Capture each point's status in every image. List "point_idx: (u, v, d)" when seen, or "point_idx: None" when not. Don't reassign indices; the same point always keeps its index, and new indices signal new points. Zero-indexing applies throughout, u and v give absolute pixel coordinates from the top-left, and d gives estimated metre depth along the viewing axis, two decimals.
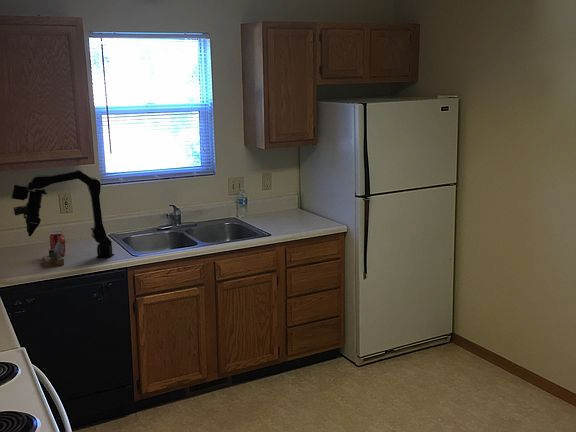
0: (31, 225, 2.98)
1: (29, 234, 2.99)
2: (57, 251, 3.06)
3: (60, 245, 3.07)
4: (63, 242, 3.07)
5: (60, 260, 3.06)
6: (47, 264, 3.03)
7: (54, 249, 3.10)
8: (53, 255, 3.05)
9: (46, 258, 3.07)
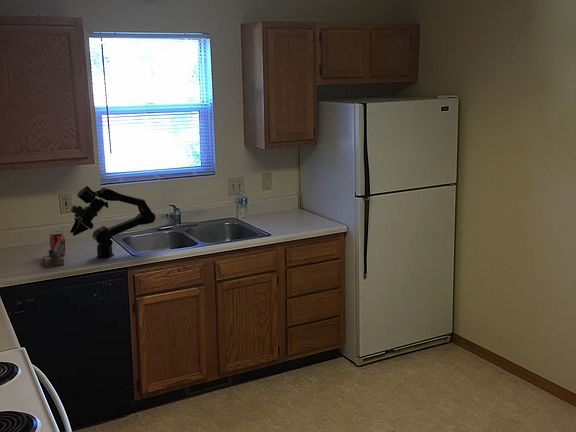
0: (81, 226, 3.08)
1: (74, 233, 3.08)
2: (57, 251, 3.06)
3: (60, 245, 3.07)
4: (63, 242, 3.07)
5: (60, 260, 3.06)
6: (47, 264, 3.03)
7: (54, 249, 3.10)
8: (53, 255, 3.05)
9: (46, 258, 3.07)
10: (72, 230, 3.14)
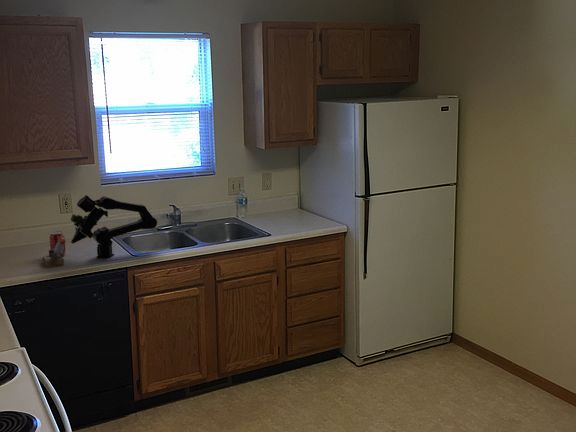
0: (79, 234, 3.12)
1: (73, 241, 3.11)
2: (57, 251, 3.06)
3: (60, 245, 3.07)
4: (63, 242, 3.07)
5: (60, 260, 3.06)
6: (47, 264, 3.03)
7: (54, 249, 3.10)
8: (53, 255, 3.05)
9: (46, 258, 3.07)
10: None
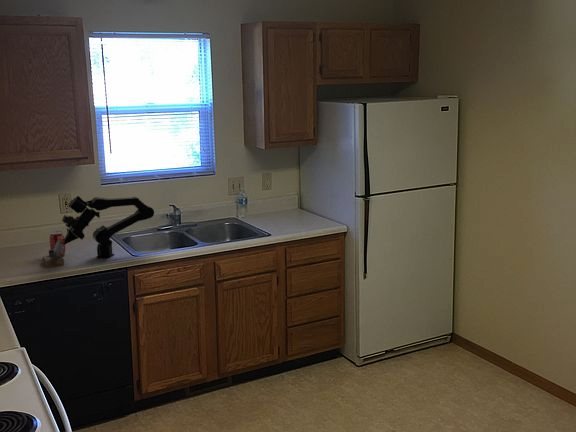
0: (71, 235, 3.10)
1: (64, 242, 3.10)
2: (57, 251, 3.06)
3: (59, 245, 3.06)
4: (62, 242, 3.07)
5: (60, 260, 3.06)
6: (47, 264, 3.03)
7: (54, 249, 3.10)
8: (53, 255, 3.05)
9: (46, 258, 3.07)
10: None
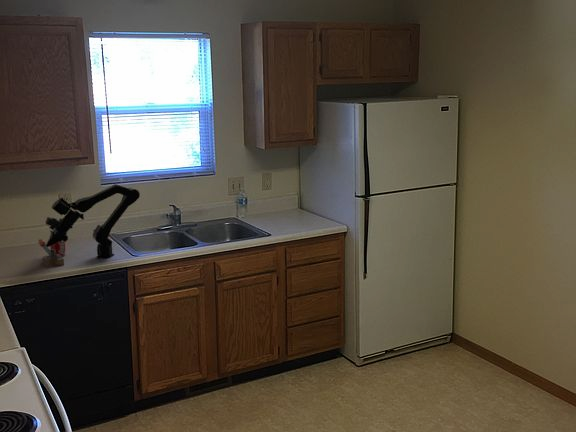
0: (54, 238, 3.06)
1: (47, 244, 3.06)
2: (48, 253, 3.05)
3: (44, 247, 3.03)
4: (43, 243, 3.03)
5: (60, 260, 3.06)
6: (47, 264, 3.03)
7: None
8: (53, 255, 3.05)
9: (46, 258, 3.07)
10: None
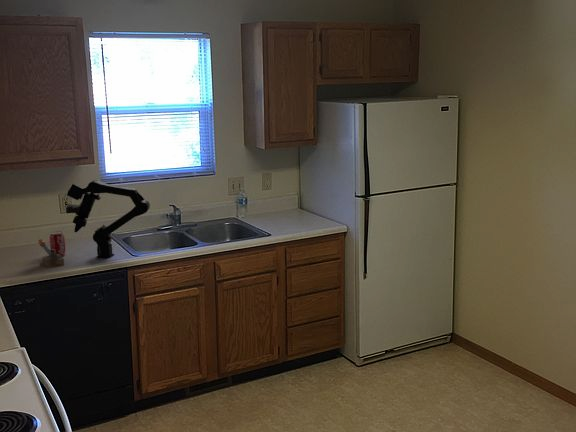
0: None
1: (75, 230, 3.17)
2: (48, 253, 3.05)
3: (44, 247, 3.03)
4: (43, 244, 3.03)
5: (60, 260, 3.06)
6: (47, 264, 3.03)
7: None
8: (53, 255, 3.05)
9: (46, 258, 3.07)
10: None
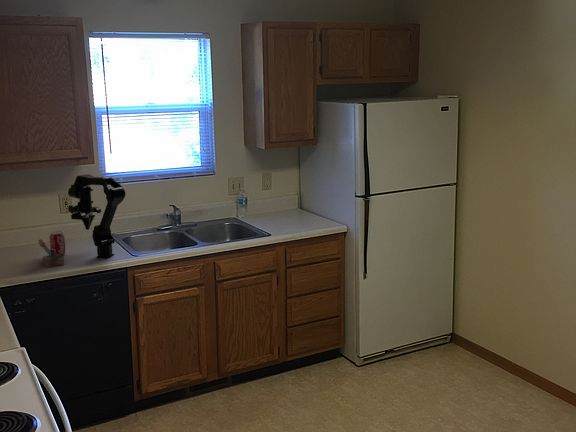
0: (85, 219, 3.24)
1: (86, 228, 3.26)
2: (48, 253, 3.05)
3: (44, 247, 3.03)
4: (43, 244, 3.03)
5: (60, 260, 3.06)
6: (47, 264, 3.03)
7: None
8: (53, 255, 3.05)
9: (46, 258, 3.07)
10: None
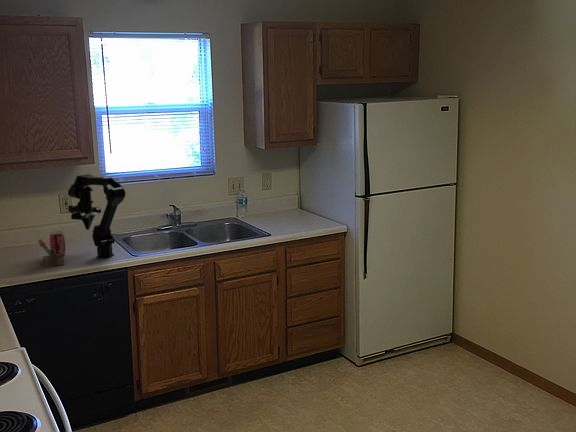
0: (85, 219, 3.24)
1: (86, 228, 3.26)
2: (48, 253, 3.05)
3: (44, 247, 3.03)
4: (43, 244, 3.03)
5: (60, 260, 3.06)
6: (47, 264, 3.03)
7: None
8: (53, 255, 3.05)
9: (46, 258, 3.07)
10: None
